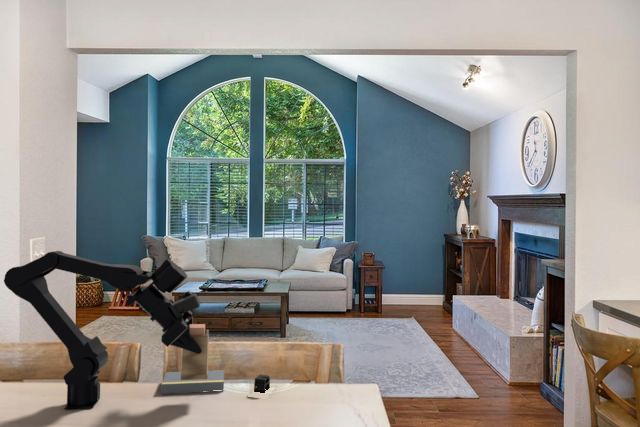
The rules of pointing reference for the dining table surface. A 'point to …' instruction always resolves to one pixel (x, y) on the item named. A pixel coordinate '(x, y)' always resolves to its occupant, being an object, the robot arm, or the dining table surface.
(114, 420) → the dining table surface
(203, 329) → the block
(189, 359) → the open wooden bin
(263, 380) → the black slotted stand
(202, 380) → the dock
